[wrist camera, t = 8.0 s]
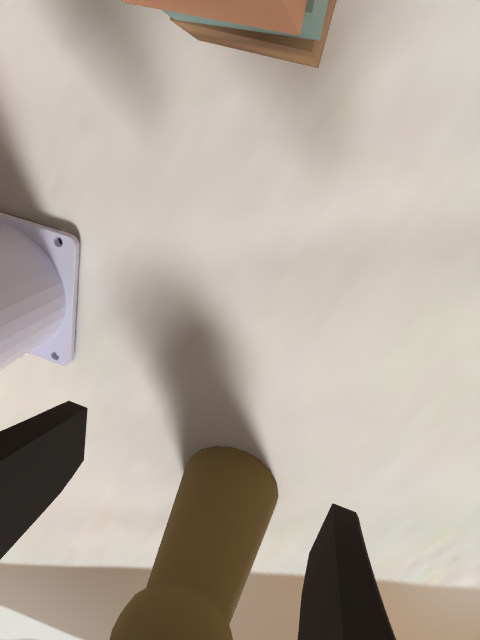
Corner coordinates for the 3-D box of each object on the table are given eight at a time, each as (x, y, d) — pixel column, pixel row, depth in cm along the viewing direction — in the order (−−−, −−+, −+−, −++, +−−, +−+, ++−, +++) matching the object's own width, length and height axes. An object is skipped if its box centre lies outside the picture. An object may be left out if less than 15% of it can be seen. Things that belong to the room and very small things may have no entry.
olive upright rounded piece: (198, 431, 24) (94, 624, 14) (293, 473, 24) (252, 705, 14) (174, 497, 27) (72, 698, 17) (259, 536, 26) (204, 768, 16)
